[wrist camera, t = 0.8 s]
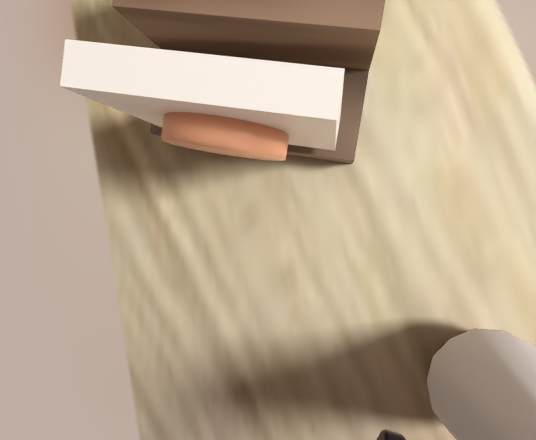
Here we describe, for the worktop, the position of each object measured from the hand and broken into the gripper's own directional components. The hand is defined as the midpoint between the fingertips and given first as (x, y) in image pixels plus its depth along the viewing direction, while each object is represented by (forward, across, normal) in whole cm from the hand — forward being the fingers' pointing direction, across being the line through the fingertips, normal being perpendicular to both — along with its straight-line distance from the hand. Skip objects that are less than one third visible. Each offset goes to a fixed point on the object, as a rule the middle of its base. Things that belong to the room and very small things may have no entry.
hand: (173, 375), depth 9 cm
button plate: (+14, +2, -1) cm, 14 cm away
